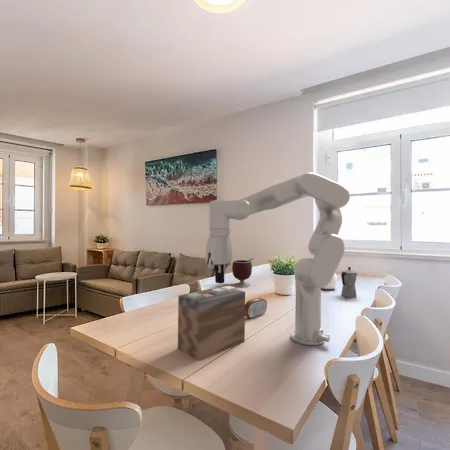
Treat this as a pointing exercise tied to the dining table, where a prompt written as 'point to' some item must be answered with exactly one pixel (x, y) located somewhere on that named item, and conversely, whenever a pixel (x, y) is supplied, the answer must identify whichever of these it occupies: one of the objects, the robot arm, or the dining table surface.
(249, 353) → the dining table surface
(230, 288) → the cream key
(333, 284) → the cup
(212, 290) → the grey key
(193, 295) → the sage key
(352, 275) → the coffeepot
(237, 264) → the mate gourd
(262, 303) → the tin
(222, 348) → the console
